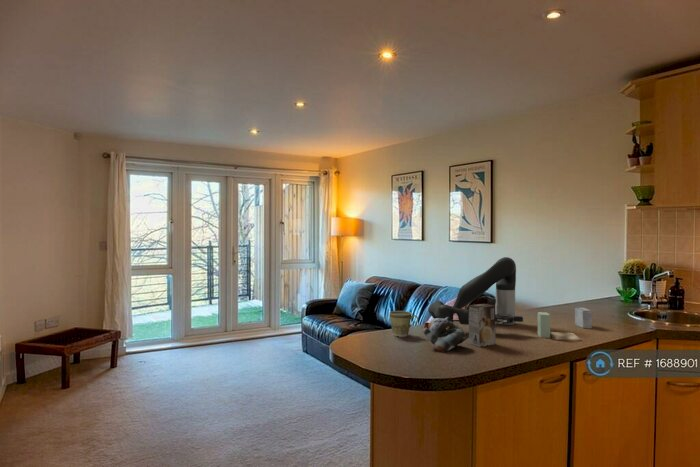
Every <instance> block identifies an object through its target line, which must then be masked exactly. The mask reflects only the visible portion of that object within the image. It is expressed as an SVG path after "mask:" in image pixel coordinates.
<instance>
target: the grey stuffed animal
mask: <svg viewBox="0 0 700 467" xmlns="http://www.w3.org/2000/svg"><path fill="white" fill-rule="evenodd" d="M423 326H424V327H423V330H422V333H423V334H424V336H425V338H426V339H428V340H429V341H430V343H431V344H432V345H433V346H434V347H435V349H436V350H437V352H441V351H444V352H443V353H447V352H448V351H450V350H452V349H454V348H456V347H457V346H458V345H460V344H462V343H464V342H465V341H466V340H468V337H467V335H466V334H465V332H464V331H463V330H462V329H460V328H457V327H456V325H455V324H454V322H453V323H452V322H451V321H450V319H449V317H446V318H445V319H443V318H441V317H440V316H437V317H436V319H434V318H433V319H431V321H430V322H428V321H426V322H424V325H423Z"/></svg>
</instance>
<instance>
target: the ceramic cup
mask: <svg viewBox="0 0 700 467" xmlns="http://www.w3.org/2000/svg"><path fill="white" fill-rule="evenodd" d="M414 317H415V318H416V321H414V322H413V323H412V324H411V321H412V319H413V318H414ZM418 320H419V317H418V316H417V315H414V314H412V312H411V311H406V310H393V311H390V312H389V321H390V325H391V332H392V335H393V336H394V337H397V336H399V338H404V337H408V336H409V331H410V328H411V327H412V326H413V325H414V324H416V323H417V322H418Z"/></svg>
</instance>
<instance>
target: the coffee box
mask: <svg viewBox="0 0 700 467" xmlns="http://www.w3.org/2000/svg"><path fill="white" fill-rule="evenodd" d="M468 309H469V325H468V344H469V345H472V344H473V345H472V346H475V345H476V347H478V346H479V348H482V347H487V345H488V346H492V345H496V343H497V341H496V337H497V335H496V333H497V332H496V329H497V328H496V324H497V323H496V322H495V304H487V303H479V304H470V305H469V304H468ZM481 346H482V347H481Z"/></svg>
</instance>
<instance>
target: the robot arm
mask: <svg viewBox="0 0 700 467" xmlns="http://www.w3.org/2000/svg"><path fill="white" fill-rule="evenodd" d="M516 283H517V266H516V262H515V261H514V260H513V259H512V258H511V257H508V256H507V257H505V256H504V257H502V258H499V259H498V260H497V261H496V262H495V263H494V264H492V266H491V267H489V268H488V269H487V270H486V271H484V272H483V273H482V274H479V275H477V276H475V277H474V278H472V279H470V280H468V281H467V282H466V283H465V284H463V285H462V286H461V287H460V289H459V291H458V294H457V296H456V299H455V301H454V303H453V306H452V305H449V304H445V303H444V302H443V301H441V300H436V301H434V302H433V303H432V304H431V305H429V307H428V313H429V315H430V316H431V317H432V318H433V319H436V317H437V316H440V317H441V318H443V319H445V318H446V317H449V319H450V321H451V322H452V323H453V324H454V316H455V314H456V315H457V319H458V322H459V324H460V325H466V326H467V325H468V326H469V308H466V309H465V307H466V306H467V305H468V306H469V304H470V303H472V302H474V301H475V300H477V299H478V298H479V297H481V296H482V295H483V294H485V293H486V292H487V291H489V289H490V288H491V287H492V286H493V285H495V304H494V306H495V324H497V325H503V326H504V325H505V326H510V325H511V326H513V325H516V322H518V323H522V322H524V317H523V316H521V315H520V316H519V315H516V285H517V284H516ZM463 308H464V309H463Z"/></svg>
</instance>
